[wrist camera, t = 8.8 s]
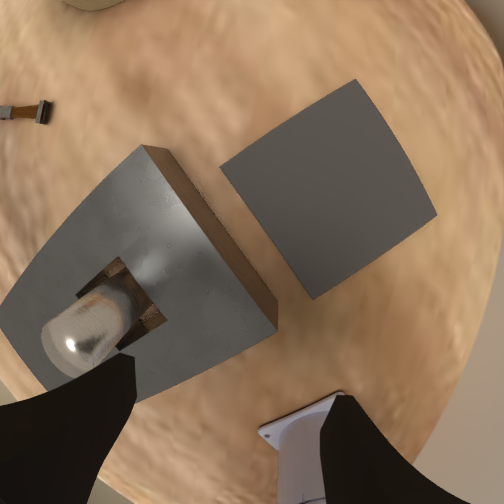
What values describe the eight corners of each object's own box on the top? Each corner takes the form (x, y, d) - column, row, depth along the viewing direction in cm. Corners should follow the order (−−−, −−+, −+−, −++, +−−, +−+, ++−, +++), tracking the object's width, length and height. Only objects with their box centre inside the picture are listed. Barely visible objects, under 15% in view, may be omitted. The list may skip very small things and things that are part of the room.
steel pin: (171, 290, 20) (104, 370, 11) (140, 307, 21) (68, 384, 12) (148, 252, 20) (64, 311, 11) (118, 271, 20) (32, 332, 11)
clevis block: (277, 301, 20) (277, 331, 16) (98, 399, 24) (80, 425, 20) (167, 149, 18) (141, 144, 14) (20, 300, 22) (-7, 316, 18)
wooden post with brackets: (-12, 105, 17) (-35, 100, 13) (59, 106, 20) (43, 99, 16) (-15, 124, 17) (-39, 123, 13) (55, 126, 20) (38, 123, 16)
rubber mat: (434, 214, 17) (437, 215, 17) (312, 297, 20) (312, 300, 19) (354, 80, 16) (355, 78, 16) (220, 167, 18) (219, 167, 18)
